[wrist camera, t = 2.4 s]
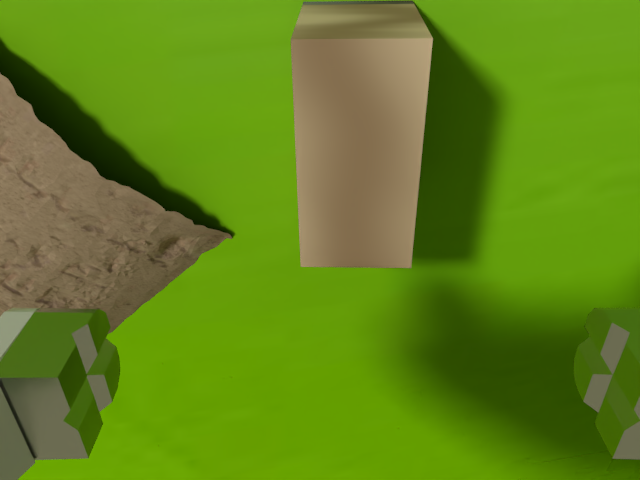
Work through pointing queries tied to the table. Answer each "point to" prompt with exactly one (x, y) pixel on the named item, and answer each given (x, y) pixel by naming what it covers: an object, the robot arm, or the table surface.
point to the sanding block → (359, 130)
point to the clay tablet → (80, 227)
